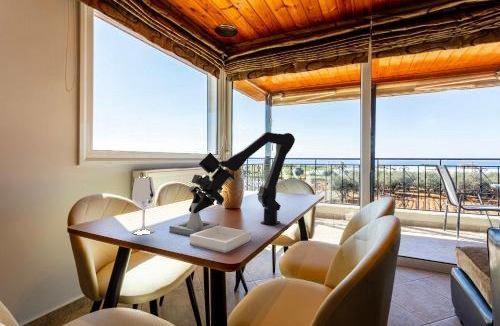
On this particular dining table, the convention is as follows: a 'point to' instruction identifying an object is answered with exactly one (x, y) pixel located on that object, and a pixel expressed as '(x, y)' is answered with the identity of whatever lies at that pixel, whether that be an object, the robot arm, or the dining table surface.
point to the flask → (194, 219)
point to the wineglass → (143, 199)
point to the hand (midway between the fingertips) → (191, 211)
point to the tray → (220, 238)
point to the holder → (184, 230)
